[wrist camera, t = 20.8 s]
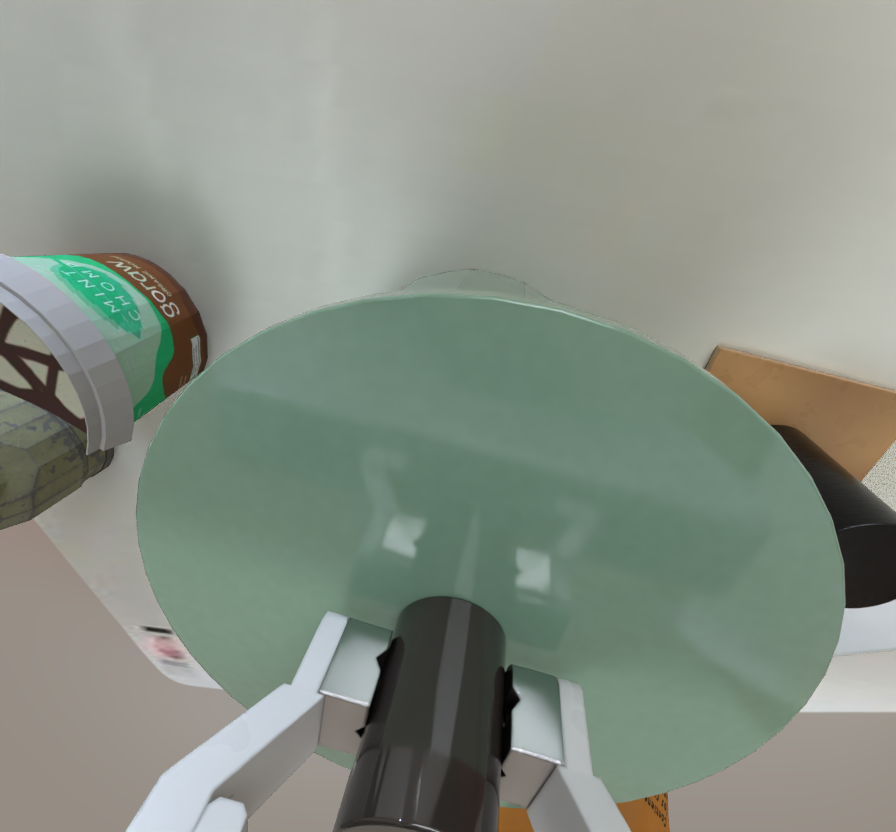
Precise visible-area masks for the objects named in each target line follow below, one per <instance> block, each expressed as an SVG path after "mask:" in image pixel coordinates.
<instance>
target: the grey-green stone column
mask: <svg viewBox="0 0 896 832" xmlns="http://www.w3.org/2000/svg"><path fill="white" fill-rule="evenodd" d="M87 442H88V440H87V434H86V433H84V432H83V431H81V430H80V429H78V428H76V427H75V426H73V425H71V424H69V423H68V422H66V421H64V420H63V419H61V418H59V417H57V416H56V415H54V414H52V413H50V412H48V411H46V410H44V409H42V408H40V407H38V406H36V405H34V404H32V403H30V402H27V401H25V400H23V399H21V398H18V397H16V396H14V395H11V394H9V393H7V392H5V391H3V390H1V389H0V530H1V529H4V528H7V527H10V526H13V525H17V524H20V523H23V522H26V521H29V520H31V519H33V518H34V517H36V516H37V515H39V514H40V513H42V512H43V511H45V510H46V509H48V508H49V507H51V506H53V505H54V504H56V503H57V502H59V501H60V500H62V499H63V498H65V497H66V496H68V495H69V494H71V493H72V492H74V491H75V490H77V489H78V488H80V487H81V486H82V483H84V481H85V480H86V479H88V478H90V477H93V476H94V475H96V474H98V473H99V472H101V471H102V470H103V469H105V468H106V467H108V466H109V464H110V462H111V460H112V458H113V448H110V449H108V450H105V451H102V450H101V449H98V450H96V451H94V452H92V453H90V454H89V455H86V449H87Z"/></svg>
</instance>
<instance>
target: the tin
mask: <svg viewBox="0 0 896 832" xmlns="http://www.w3.org/2000/svg"><path fill="white" fill-rule="evenodd" d="M771 426H772V427H773V428H774V429H775V430H776V431H777V432H778V433H779V434H780V435H781V437H782V438H783V439H784V441H785V442H786V443H787V445H788V446H789V447H790V449H791V450H792V451H793V453H794V454H795V455H796V457H797V458H798V459H799V461H800V462H801V463H802V465H803V466H804V467H805V469H806V470H807V471H808V473H809V474H810V475H811V477H812V479H813V481H814V483H815V485H816V487H817V489H818V491H819V493H820V495H821V497H822V499H823V501H824V503H825V505H826V507H827V509H828V511H829V513H830V515H831V517H832V519H833V523H834V527H835V530H836V534H837V538H838V542H839V546H840V550H841V554H842V558H843V561H844V576H845V602H846V605H845V608H849V609H854V608H867V607H873V606H878V605H881V604H885V603H888V602H891V601H893V600H896V512H895V511H894V510H892V509H891V508H890V507H889V506H888V505H887V504H885V503H884V502H883V501H882V500H881V499H880V498H878V497H877V496H876V495H875V494H874V493H873V492H871V491H870V490H869V489H868V488H867V487H866V486H864V485H863V484H862V483H861V482H860V481H859V480H857V479H856V478H855V477H854V476H853V475H852V474H850V473H849V472H848V471H847V470H846V469H845V468H844V467H842V466H841V465H840V464H839V463H838V462H837V461H835V460H834V459H833V458H832V457H831V456H830V455H828V454H827V453H826V452H825V451H824V450H823V449H821V448H820V447H819V446H818V445H817V444H816V443H814V442H813V441H812V440H811V439H810V438H809V437H807V436H806V435H805V434H804V433H802V432H801V431H800V430H797V429H795V428H793V427H790V426H785V425H771Z"/></svg>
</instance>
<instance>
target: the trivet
mask: <svg viewBox="0 0 896 832" xmlns="http://www.w3.org/2000/svg"><path fill="white" fill-rule="evenodd" d="M705 370H706V371H708V372H709V373H711V374H712V375H714V376H715V377H716V378H718V379H719V380H721V381H722V382H724V383H725V384H727V385H728V386H729V387H730V388H731V389H732V390H733V391H734V392H735V393H737V394H738V395H739V396H740V397H741V398H742V399H743V400H744V401H745V402H746V403H747V404H748V405H749V406H750V407H751V408H752V409H754V410H755V411H756V412H757V413H758V414H759V415H760V416H761V417H762V418H763V419H764V420H765V421H766V422H767V423H768V424H769V425H785V426H790V427H793V428H795V429H797V430H800V431H801V432H802V433H804V434H805V435H806V436H807V437H809V438H810V439H811V440H812V441H813V442H814V443H816V444H817V445H818V446H819V447H820V448H821V449H823V450H824V451H825V452H826V453H827V454H828V455H830V456H831V457H832V458H833V459H834V460H835V461H837V462H838V463H839V464H840V465H841V466H842V467H844V468H845V469H846V470H847V471H848V472H849V473H850V474H852V475H853V476H854V477H855V478H856V479H857V480H859V481H860V482H861V481H862V480H863V478H864V477H865V476H866V475H867V474H868V472H869V471H870V470H871V469H872V468H873V466H874V465H875V464H876V463H877V462H878V460H879V459H880V458H881V457H882V456H883V454H884V453H885V452H886V451H887V450H888V448H889V447H890V446H891V445H892V444H893V443H894V441H895V440H896V391H894V390H890V389H886V388H882V387H878V386H874V385H870V384H866V383H862V382H859V381H855V380H851V379H847V378H843V377H839V376H835V375H831V374H827V373H823V372H819V371H816V370H812V369H808V368H804V367H800V366H796V365H792V364H788V363H784V362H780V361H776V360H773V359H769V358H765V357H761V356H757V355H753V354H749V353H745V352H741V351H737V350H733V349H730V348H726V347H722V346H717V347H716V349H715V351H714V353H713V354H712V356H711V358H710V360H709V362H708V364H707V366H706V367H705Z"/></svg>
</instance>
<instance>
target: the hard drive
mask: <svg viewBox="0 0 896 832" xmlns="http://www.w3.org/2000/svg"><path fill="white" fill-rule="evenodd" d="M894 650H896V600H893V601H891V602H888V603H885V604H881V605H878V606H873V607H867V608H854V609H849V608H845V610H844V616H843V621H842V627H841V632H840V638H839V642H838V645H837V647H836V650H835V652H834V655H833V656H844V655H853V654H864V653H874V652H884V651H894Z"/></svg>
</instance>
